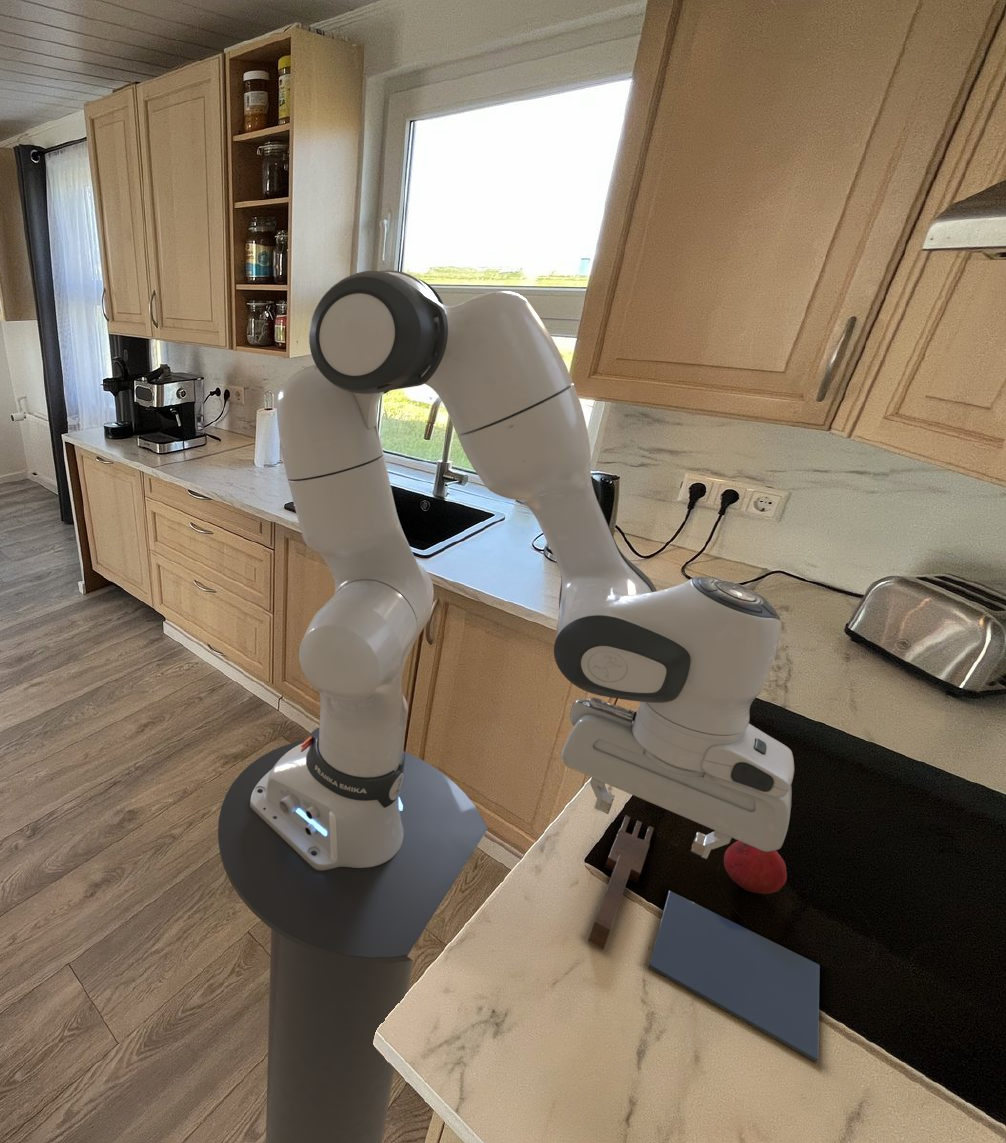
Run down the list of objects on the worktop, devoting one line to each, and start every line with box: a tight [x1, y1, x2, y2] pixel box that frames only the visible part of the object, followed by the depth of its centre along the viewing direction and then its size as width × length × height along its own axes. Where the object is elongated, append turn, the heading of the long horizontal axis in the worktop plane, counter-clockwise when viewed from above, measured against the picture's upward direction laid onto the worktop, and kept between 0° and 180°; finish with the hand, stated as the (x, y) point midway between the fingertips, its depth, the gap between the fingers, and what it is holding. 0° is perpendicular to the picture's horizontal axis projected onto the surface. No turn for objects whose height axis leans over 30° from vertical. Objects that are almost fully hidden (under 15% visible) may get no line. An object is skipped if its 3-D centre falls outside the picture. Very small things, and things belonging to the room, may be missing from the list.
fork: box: [587, 815, 655, 950], centre depth 76 cm, size 22×4×3 cm, turn 139°
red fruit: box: [723, 840, 788, 895], centre depth 74 cm, size 6×6×8 cm
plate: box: [648, 890, 821, 1063], centre depth 67 cm, size 14×12×1 cm
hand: (648, 829), depth 69 cm, fingers open, 8 cm apart
